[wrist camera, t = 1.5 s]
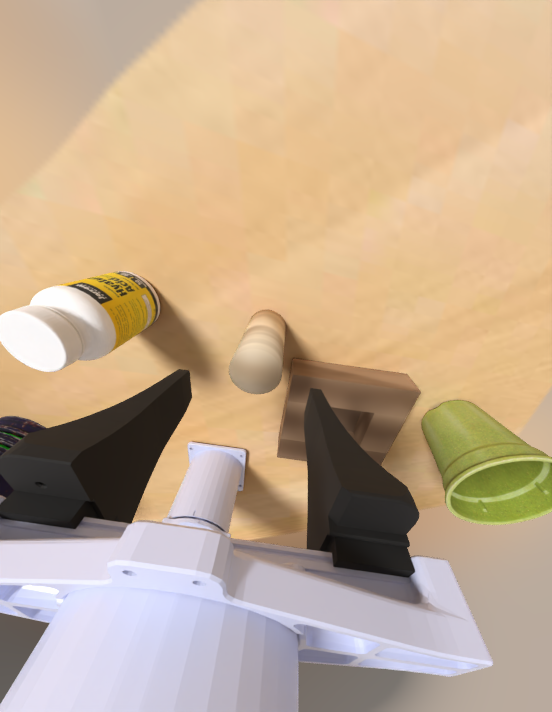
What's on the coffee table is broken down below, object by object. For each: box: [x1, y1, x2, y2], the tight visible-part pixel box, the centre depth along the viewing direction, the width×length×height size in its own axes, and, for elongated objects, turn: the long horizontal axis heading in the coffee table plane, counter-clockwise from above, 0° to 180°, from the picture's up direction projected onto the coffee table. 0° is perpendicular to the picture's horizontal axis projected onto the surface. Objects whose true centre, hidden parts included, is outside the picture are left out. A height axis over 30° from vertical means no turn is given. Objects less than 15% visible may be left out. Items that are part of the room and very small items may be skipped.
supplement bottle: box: [0, 271, 160, 372], centre depth 18 cm, size 5×5×10 cm
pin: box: [229, 310, 286, 394], centre depth 19 cm, size 4×4×8 cm
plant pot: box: [421, 400, 552, 525], centre depth 23 cm, size 9×9×9 cm
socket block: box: [277, 358, 421, 465], centre depth 26 cm, size 12×12×3 cm
